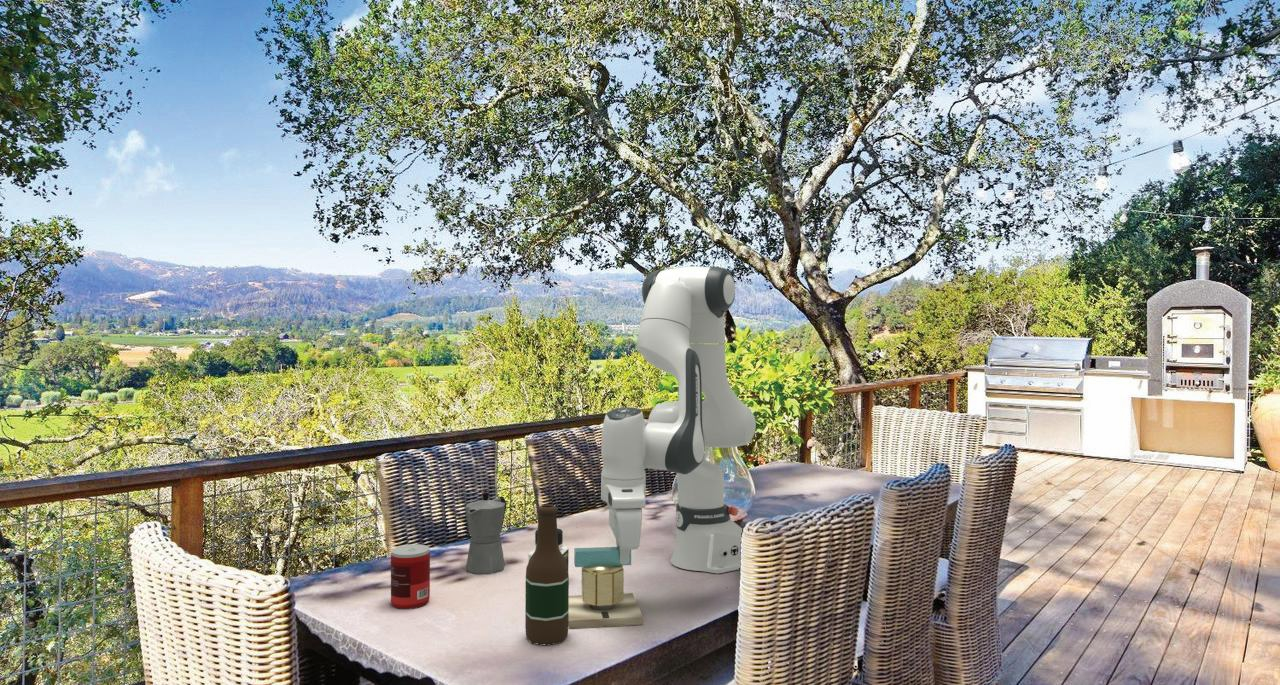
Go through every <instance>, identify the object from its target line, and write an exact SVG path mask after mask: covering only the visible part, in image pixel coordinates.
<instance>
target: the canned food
mask: <svg viewBox="0 0 1280 685" xmlns="http://www.w3.org/2000/svg"><path fill="white" fill-rule="evenodd" d="M430 549H431V548H430V546H428V545H425V544H418V543H417V544H414V543H413V544H411V543H410V544H405V545H403V544H402V545H399V546H396V547H394V548H392V549H391V552H390V601H391V605H392V607H394V608H396V609H400V608H402V609H401V610H408V609H409V608H412V609H416V607H417V608H420V606H421V607H423V606H425V605H427V604H428V603H429V600H430V597H431V596H430V595H431V594H430V593H431V550H430ZM426 603H427V604H426ZM409 610H410V609H409Z"/></svg>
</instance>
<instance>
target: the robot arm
mask: <svg viewBox="0 0 1280 685" xmlns="http://www.w3.org/2000/svg"><path fill="white" fill-rule="evenodd" d="M735 284H736V282H735V279H734V277H733V274H732V273H731V272H730V271H729V269H727V268H725V267H720V266H710V267H708V266H697V265H696V266H695V265H693V266H692V265H690V266H685V267H675V268H668V269H664V268H661V269H657V270H653V271H651V272H649V273H648V274H647V275H646V277H645V278H644V280H643V283H642V286H641V296H642V301H643V303H644V306H643V308H642V312H641V316H640V321H639V326H638V331H637V341H636V342H637V349H638V351H639V353H640V355H641V357H643V359H644V360H645V361H646V362H647V363H649V364H651V365H652V366H654V367H655V368H657V369H659V370H660V371H662V372H665V373H666V374H670V375H671V376H673V377H675V379H676V381H677V384H678V400H674V401H673V400H672V401H668V402H667V401H666V402H662V403H657V404H656V405H654V407H653V408H652V409H651V411H650V413H649V415H648V419H645V418H644V414H643V411H642V410H641V409H639V408H637V407H631V406H625V407H618V408H614V409H611V410H609V411H608V412H607V413H606V414H605V416H604V419H603V425H602V432H601V445H600V450H601V451H600V452H601V459H602V470H601V474H600V481H601V482H600V499H601V501H603V502H605V503H606V506H607V509H608V524H609V527H610V529H611V531H612V533H613V536H614V538H615V542H616V547H620V553H619V561H620V563H621V564H628V563H629V554H630V550H631V551H632V550H638V549H639V547H640V543H641V536H642V524H643V509H645V508H646V497H647V496H646V489H647V486H646V485H647V484H646V483H647V482H646V481H647V480H646V476H647V475H646V470H645V469H649V470H660V471H668V472H671V473H676V479H677V481H676V482H677V503H676V506H675V507H676V508H675V524H676V526H675V527H676V535H675V541H674V548H673V553H672V557H671V558H670V563H671V565H673V566H674V567H677V568H680V569H682V570H687V571H696V572H697V571H698V572H706V573H711V574H723V573H727V572H732V571H737V570H740V569H739V568H740V542H741V533H742V529H743V528H742V527H740V526H739V525H738V524H737V523H736V522H735V521H733V520H732V519H731V516H733V517H736V516H738V514H739V508H737V507H735V506H731V505H730V506H729V505H727V504H725V502H724V501H725V476H724V473H723V470H722V469H721V468H720V467H719V466H717V464H715V463H713V462H711V461H709V460H707V459H705V448H720V449H729V448H737V447H742V446H747V445H748V444H750V442H751V441H752V439H753V437H754V436H755V433H756V429H757V428H756V427H757V424H756V423H757V422H756V418H755V415H754V412H753V411H752V410H751V408H750V407H749V406H748V405H746V403H744V401H742V400H741V399H740V398H738V396H737V395H736V394H735V392H734V390H732V389H733V388H732V387H731V385H730V383H729V380H728V376H727V368H726V366H727V365H726V331H725V323H724V322H725V321H724V314H725V313H726V312H727V311H728V310H729V309H730V308H731V307H732V305H733V303H734V300H735V297H736V285H735ZM702 396H704V400H703V399H702V398H703V397H702ZM730 515H731V516H730Z"/></svg>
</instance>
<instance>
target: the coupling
mask: <svg viewBox="0 0 1280 685" xmlns="http://www.w3.org/2000/svg"><path fill="white" fill-rule="evenodd" d="M573 550H574V551H573V552H574V561H573V562H574V566H575V568H581V595H582V600H583V602H584V603H587V604H591V605H595V606H596V605H597V606H603V605H612V604H613V605H614V604H617V603H619V602H621V601H623V600H624V593H625V591H624V589H625V588H624V585H625V583H624V582H625V581H624V579H625V576H624V574H625V570H624V566H632V550H630V554H629V563H628V564H621V563H620V561H619V553H620V547H617V546H602V547H600V546H599V547H595V546H594V547H577V548H576V547H575V548H574V549H573Z"/></svg>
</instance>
